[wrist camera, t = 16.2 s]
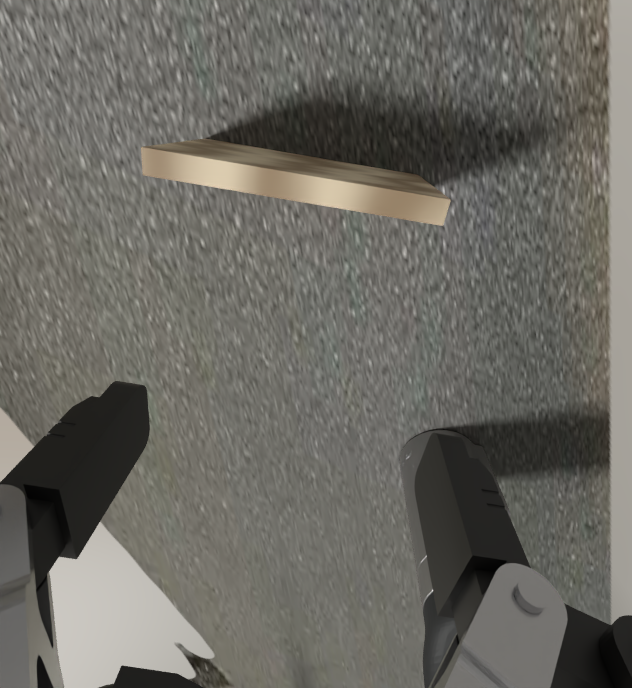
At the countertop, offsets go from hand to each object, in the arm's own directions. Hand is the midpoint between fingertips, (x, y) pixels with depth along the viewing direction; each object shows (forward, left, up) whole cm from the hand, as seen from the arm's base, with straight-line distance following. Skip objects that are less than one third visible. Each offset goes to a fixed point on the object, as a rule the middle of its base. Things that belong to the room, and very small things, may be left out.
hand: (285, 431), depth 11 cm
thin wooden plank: (+2, -4, -28) cm, 28 cm away
